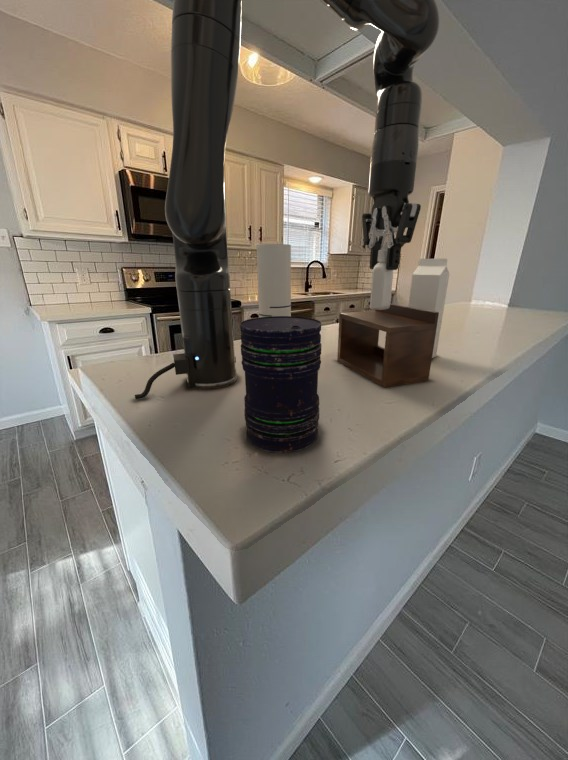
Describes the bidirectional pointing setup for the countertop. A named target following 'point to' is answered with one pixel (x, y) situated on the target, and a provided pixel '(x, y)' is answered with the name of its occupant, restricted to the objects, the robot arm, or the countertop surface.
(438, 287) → the milk
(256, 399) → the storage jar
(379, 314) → the spice rack
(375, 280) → the eye dropper bottle
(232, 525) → the countertop surface
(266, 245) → the cylindrical container
